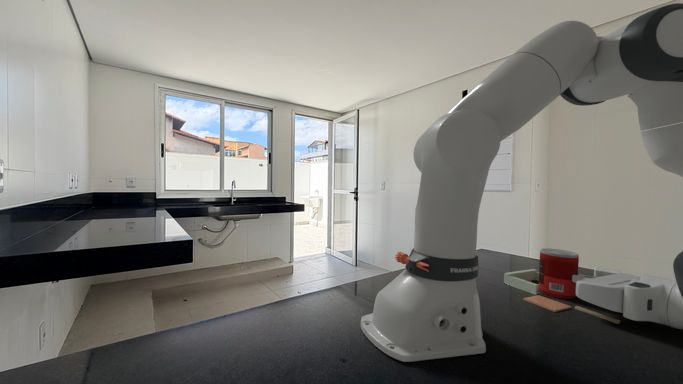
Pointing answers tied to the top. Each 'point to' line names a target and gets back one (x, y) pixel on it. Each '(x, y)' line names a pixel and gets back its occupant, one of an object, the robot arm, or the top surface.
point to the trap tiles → (547, 303)
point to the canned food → (558, 273)
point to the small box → (604, 271)
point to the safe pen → (523, 280)
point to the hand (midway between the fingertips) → (575, 277)
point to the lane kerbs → (597, 314)
